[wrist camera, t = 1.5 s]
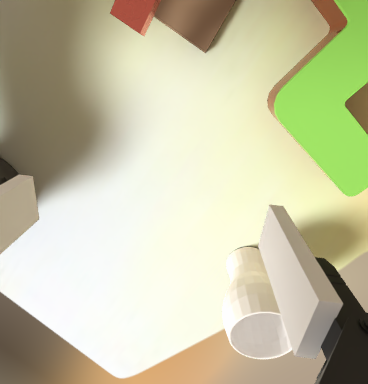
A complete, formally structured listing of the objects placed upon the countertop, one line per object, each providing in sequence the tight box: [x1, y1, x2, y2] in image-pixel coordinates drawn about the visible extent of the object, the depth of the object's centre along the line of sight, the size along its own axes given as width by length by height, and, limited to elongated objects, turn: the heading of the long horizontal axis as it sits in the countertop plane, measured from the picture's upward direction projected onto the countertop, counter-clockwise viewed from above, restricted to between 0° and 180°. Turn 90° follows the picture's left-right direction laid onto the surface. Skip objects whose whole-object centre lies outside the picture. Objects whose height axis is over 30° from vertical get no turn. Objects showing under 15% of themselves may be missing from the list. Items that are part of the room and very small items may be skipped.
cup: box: [222, 247, 292, 359], centre depth 42 cm, size 11×11×15 cm
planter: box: [267, 0, 368, 196], centre depth 32 cm, size 30×18×6 cm, turn 46°
